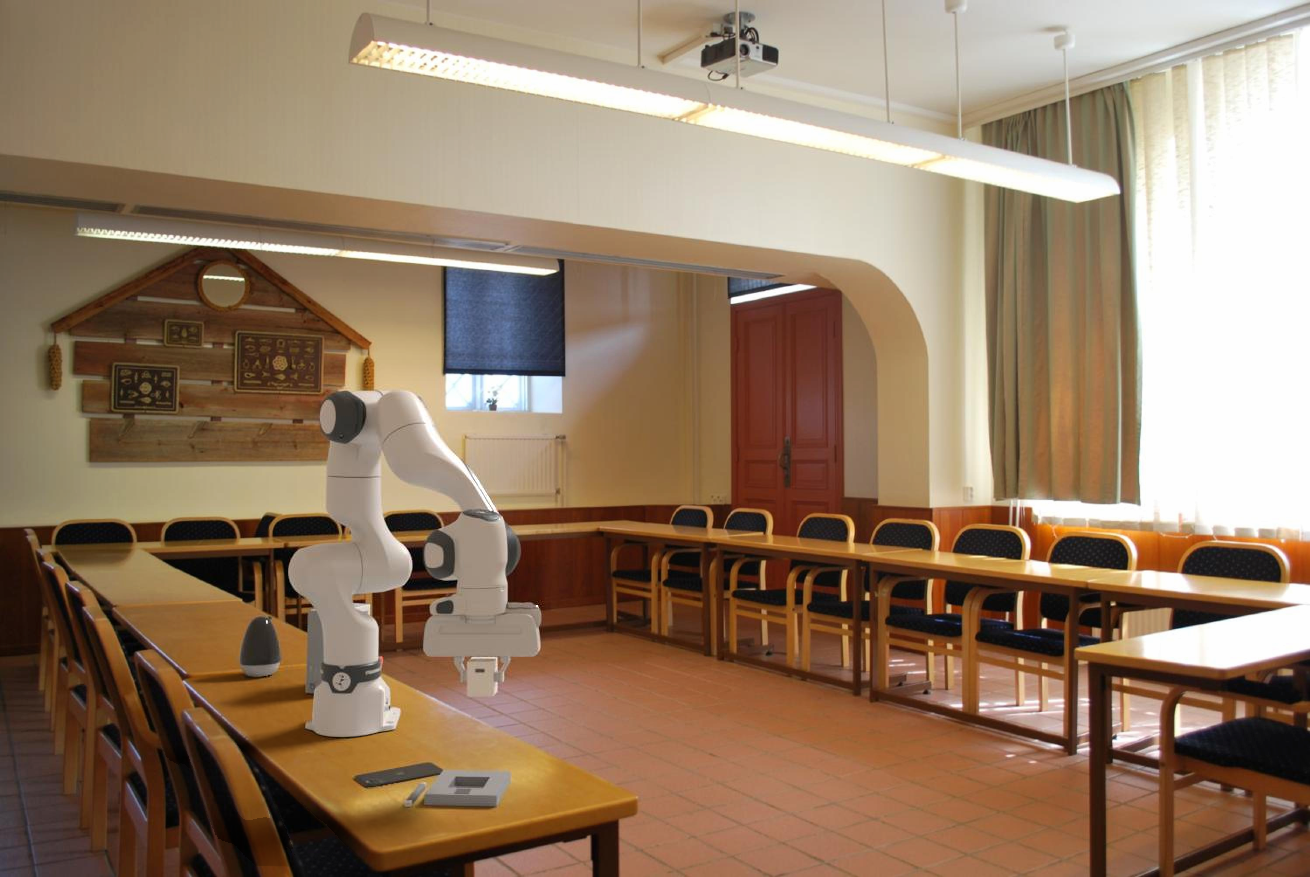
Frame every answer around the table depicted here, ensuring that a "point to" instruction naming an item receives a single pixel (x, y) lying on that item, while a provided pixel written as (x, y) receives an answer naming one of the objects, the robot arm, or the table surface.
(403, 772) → the smartphone
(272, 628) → the grey egg on base
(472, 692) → the brick
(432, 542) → the robot arm
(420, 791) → the bar
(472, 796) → the plate
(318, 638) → the hard drive box
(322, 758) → the table surface
